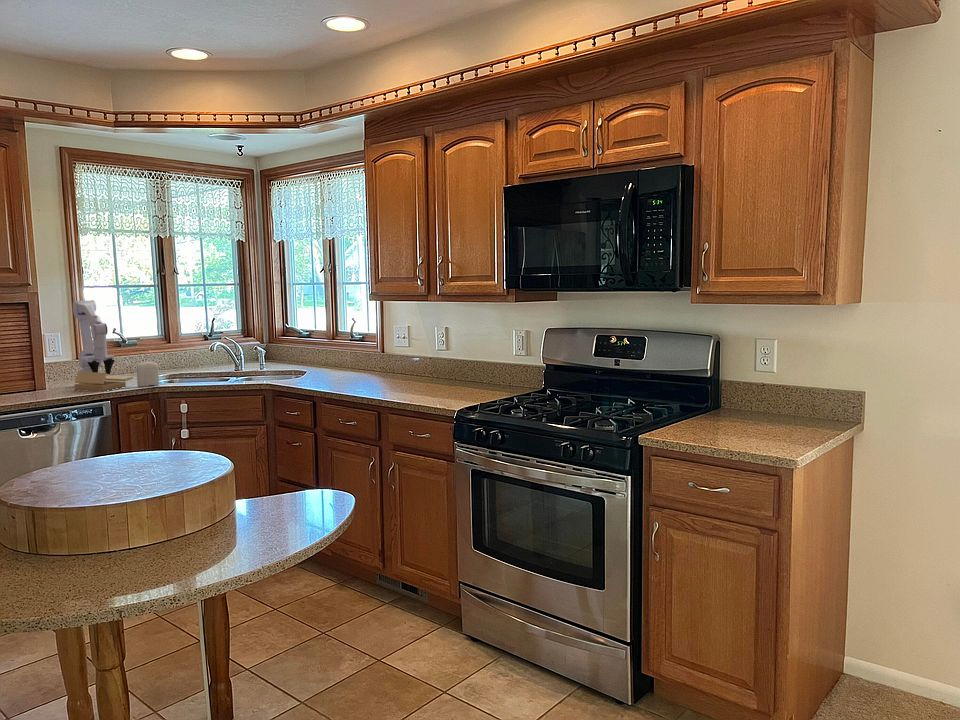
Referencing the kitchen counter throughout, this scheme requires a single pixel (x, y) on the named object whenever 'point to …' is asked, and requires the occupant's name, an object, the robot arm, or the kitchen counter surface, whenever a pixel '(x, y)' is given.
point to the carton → (100, 386)
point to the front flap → (90, 377)
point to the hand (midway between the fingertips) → (102, 375)
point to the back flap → (118, 378)
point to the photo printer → (147, 374)
